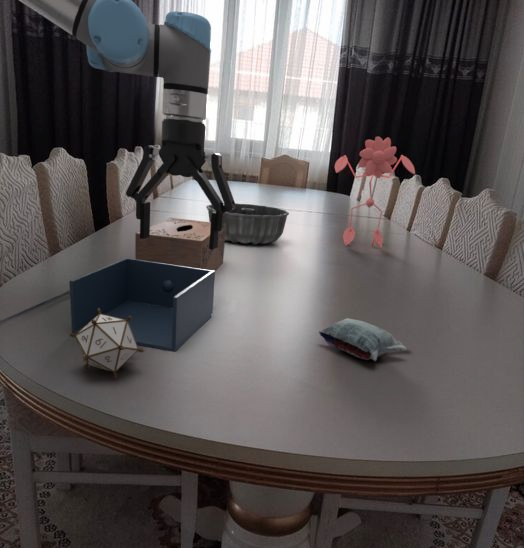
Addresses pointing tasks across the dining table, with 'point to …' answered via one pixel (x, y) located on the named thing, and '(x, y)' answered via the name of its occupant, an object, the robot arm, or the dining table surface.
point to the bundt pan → (253, 223)
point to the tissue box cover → (181, 244)
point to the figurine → (376, 162)
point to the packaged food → (361, 339)
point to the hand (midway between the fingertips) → (178, 243)
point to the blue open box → (146, 300)
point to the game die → (107, 342)
